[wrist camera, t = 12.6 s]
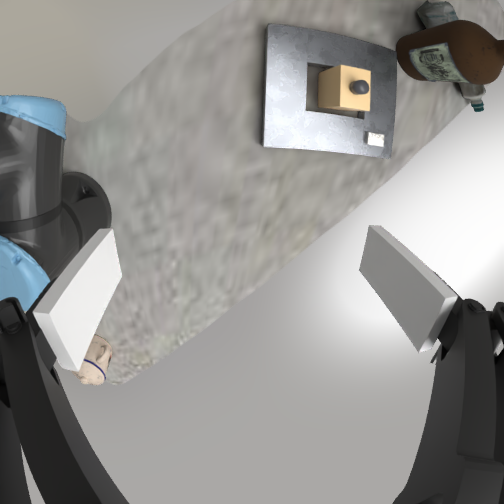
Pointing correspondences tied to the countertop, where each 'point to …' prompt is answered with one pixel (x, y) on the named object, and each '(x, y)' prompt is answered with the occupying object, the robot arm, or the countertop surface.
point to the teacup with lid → (95, 362)
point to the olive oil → (452, 54)
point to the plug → (344, 89)
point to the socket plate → (315, 123)
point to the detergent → (439, 15)
